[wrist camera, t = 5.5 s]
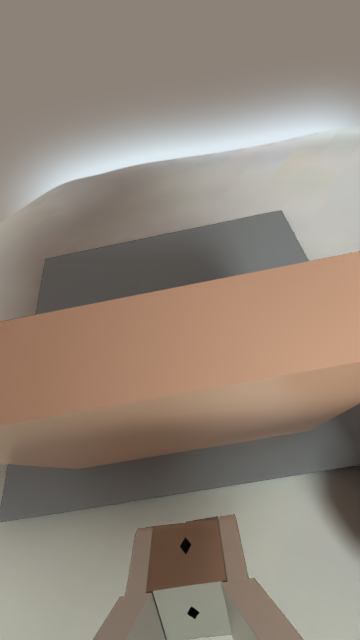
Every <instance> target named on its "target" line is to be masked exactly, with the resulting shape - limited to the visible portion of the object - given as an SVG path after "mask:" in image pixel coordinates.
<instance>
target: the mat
mask: <svg viewBox="0 0 360 640" xmlns="http://www.w3.org/2000/svg"><path fill="white" fill-rule="evenodd" d="M308 261H309V260H308V258H307V257H306V255H305V253H304V251H303V249H302V247H301V246H300V244H299V242H298V240H297V238H296V236H295V234H294V233H293V231H292V229H291V227H290V225H289V223H288V221H287V220H286V218H285V216H284V214H283V212H282V210H281V211H276V212H271V213H266V214H261V215H257V216H252V217H247V218H242V219H237V220H232V221H227V222H223V223H218V224H213V225H208V226H203V227H198V228H193V229H189V230H184V231H179V232H174V233H169V234H164V235H159V236H154V237H150V238H145V239H140V240H135V241H130V242H125V243H120V244H116V245H111V246H106V247H101V248H96V249H91V250H86V251H82V252H77V253H72V254H67V255H62V256H57V257H52V258H48V259H45V265H44V270H43V276H42V281H41V287H40V292H39V298H38V303H37V309H36V314H35V315H37V314H42V313H48V312H53V311H58V310H63V309H68V308H73V307H78V306H83V305H88V304H93V303H99V302H104V301H109V300H114V299H119V298H124V297H129V296H134V295H139V294H144V293H150V292H155V291H160V290H165V289H170V288H175V287H180V286H185V285H190V284H195V283H201V282H206V281H211V280H216V279H221V278H226V277H231V276H236V275H241V274H246V273H252V272H257V271H262V270H267V269H272V268H277V267H282V266H287V265H292V264H297V263H303V262H308ZM356 465H360V403H359V404H358V405H356V406H354V407H352V408H350V409H349V410H347V411H345V412H343V413H341V414H340V415H338V416H336V417H334V418H332V419H331V420H329V421H327V422H325V423H323V424H322V425H320V426H318V427H316V428H314V429H313V430H310V431H304V432H298V433H292V434H286V435H280V436H274V437H268V438H262V439H256V440H250V441H244V442H238V443H232V444H226V445H220V446H214V447H208V448H202V449H196V450H190V451H184V452H178V453H172V454H166V455H160V456H154V457H148V458H142V459H136V460H130V461H124V462H118V463H112V464H106V465H100V466H94V467H89V468H83V469H69V468H55V467H41V466H27V465H12V464H8V468H7V474H6V479H5V485H4V490H3V496H2V501H1V507H0V522H6V521H12V520H18V519H24V518H31V517H37V516H43V515H49V514H56V513H62V512H68V511H75V510H81V509H87V508H93V507H100V506H106V505H112V504H118V503H125V502H131V501H137V500H143V499H150V498H156V497H162V496H168V495H175V494H181V493H187V492H194V491H200V490H206V489H212V488H219V487H225V486H231V485H237V484H244V483H250V482H256V481H262V480H269V479H275V478H281V477H287V476H294V475H300V474H306V473H313V472H319V471H325V470H331V469H338V468H344V467H350V466H356Z"/></svg>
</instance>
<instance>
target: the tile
mask: <svg viewBox="0 0 360 640" xmlns="http://www.w3.org/2000/svg"><path fill="white" fill-rule="evenodd" d="M359 403H360V251H359V252H354V253H348V254H343V255H338V256H333V257H328V258H323V259H318V260H313V261H308V262H303V263H297V264H292V265H287V266H282V267H277V268H272V269H267V270H262V271H257V272H252V273H246V274H241V275H236V276H231V277H226V278H221V279H216V280H211V281H206V282H201V283H195V284H190V285H185V286H180V287H175V288H170V289H165V290H160V291H155V292H150V293H144V294H139V295H134V296H129V297H124V298H119V299H114V300H109V301H104V302H99V303H93V304H88V305H83V306H78V307H73V308H68V309H63V310H58V311H53V312H48V313H42V314H37V315H32V316H27V317H22V318H17V319H12V320H7V321H2V322H0V464H12V465H27V466H41V467H55V468H69V469H83V468H89V467H94V466H100V465H106V464H112V463H118V462H124V461H130V460H136V459H142V458H148V457H154V456H160V455H166V454H172V453H178V452H184V451H190V450H196V449H202V448H208V447H214V446H220V445H226V444H232V443H238V442H244V441H250V440H256V439H262V438H268V437H274V436H280V435H286V434H292V433H298V432H304V431H310V430H313V429H314V428H316V427H318V426H320V425H322V424H323V423H325V422H327V421H329V420H331V419H332V418H334V417H336V416H338V415H340V414H341V413H343V412H345V411H347V410H349V409H350V408H352V407H354V406H356V405H358V404H359Z"/></svg>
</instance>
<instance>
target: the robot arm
mask: <svg viewBox="0 0 360 640" xmlns="http://www.w3.org/2000/svg"><path fill="white" fill-rule="evenodd" d="M224 635H232V637H233V639H234V640H304V639H303V638H302V637H301V635H300V634H299V633H298V632H297V630H296V629H295V628H294V627H293V625H292V624H291V623H290V622H289V620H288V619H287V618H286V617H285V615H284V614H283V613H282V612H281V610H280V609H279V608H278V607H277V606H276V604H275V603H274V602H273V601H272V599H271V598H270V597H269V596H268V594H267V593H266V592H265V591H264V589H263V588H262V587H261V586H260V584H259V583H258V582H257V581H256V579H255V578H249V577H248V572H247V567H246V563H245V558H244V553H243V549H242V544H241V539H240V534H239V530H238V525H237V520H236V517H235V514H233V515H227V516H220V517H218V516H217V517H211V518H205V519H200V520H194V521H188V522H186V523H179V524H170V525H162V526H154V527H147V528H140V529H137V532H136V534H135V539H134V545H133V551H132V557H131V563H130V569H129V575H128V582H127V588H126V594H125V596H122V597H119V599H118V601H117V602H116V604H115V605H114V607H113V608H112V610H111V612H110V613H109V615H108V616H107V618H106V620H105V621H104V623H103V624H102V626H101V627H100V629H99V631H98V632H97V634H96V635H95V637H94V638H93V640H189V639H195V638H199V637H200V638H202V637H213V636H224Z"/></svg>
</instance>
